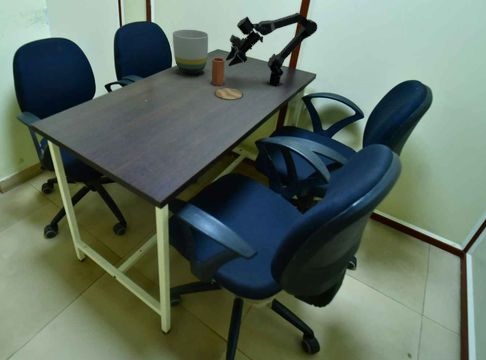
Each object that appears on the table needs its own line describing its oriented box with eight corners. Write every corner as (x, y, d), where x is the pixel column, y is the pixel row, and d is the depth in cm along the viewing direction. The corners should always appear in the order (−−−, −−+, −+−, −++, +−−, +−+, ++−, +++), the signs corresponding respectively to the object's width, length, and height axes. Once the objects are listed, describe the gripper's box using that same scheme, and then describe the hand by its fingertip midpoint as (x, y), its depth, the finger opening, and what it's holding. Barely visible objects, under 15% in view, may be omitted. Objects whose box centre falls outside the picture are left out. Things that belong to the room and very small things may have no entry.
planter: (168, 70, 179) (165, 31, 166) (195, 65, 190) (194, 28, 176) (187, 80, 168) (185, 39, 155) (214, 74, 179) (215, 36, 166)
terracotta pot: (217, 80, 172) (217, 56, 164) (226, 83, 169) (227, 59, 161) (209, 83, 168) (209, 59, 160) (218, 86, 165) (218, 62, 157)
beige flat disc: (227, 86, 165) (227, 86, 165) (247, 94, 159) (247, 93, 158) (209, 93, 156) (209, 92, 156) (230, 102, 150) (230, 101, 150)
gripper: (236, 25, 160) (215, 46, 165) (243, 34, 146) (219, 57, 150) (249, 41, 166) (228, 61, 171) (256, 51, 152) (234, 72, 157)
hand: (227, 62), depth 162 cm, fingers open, 9 cm apart
